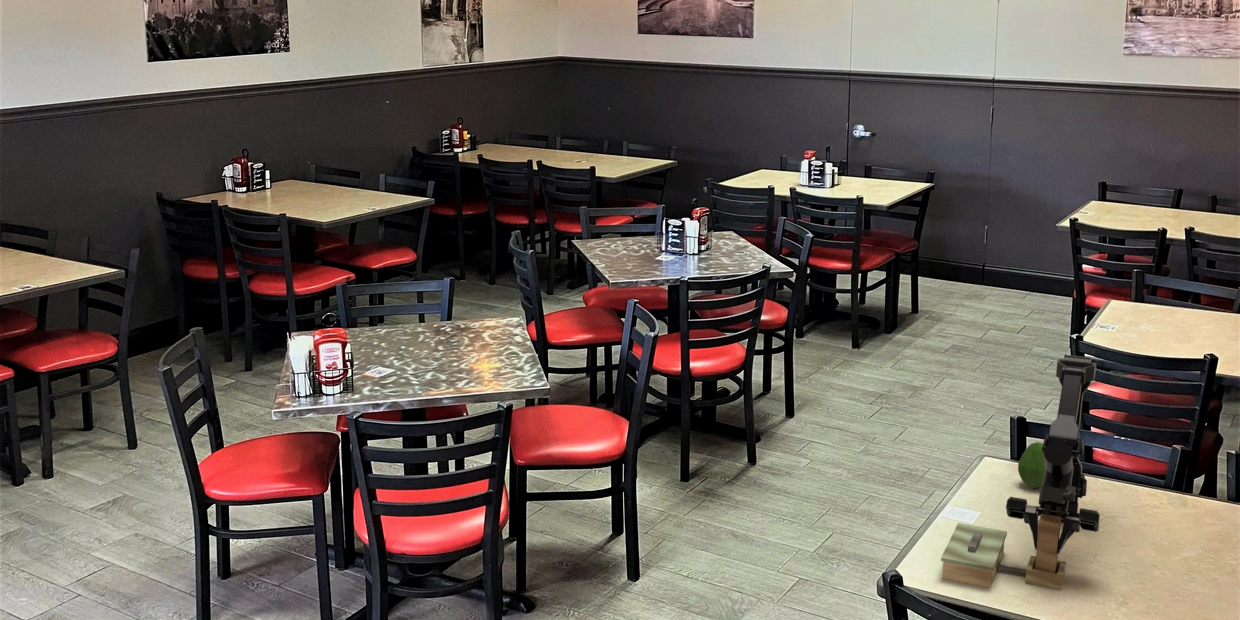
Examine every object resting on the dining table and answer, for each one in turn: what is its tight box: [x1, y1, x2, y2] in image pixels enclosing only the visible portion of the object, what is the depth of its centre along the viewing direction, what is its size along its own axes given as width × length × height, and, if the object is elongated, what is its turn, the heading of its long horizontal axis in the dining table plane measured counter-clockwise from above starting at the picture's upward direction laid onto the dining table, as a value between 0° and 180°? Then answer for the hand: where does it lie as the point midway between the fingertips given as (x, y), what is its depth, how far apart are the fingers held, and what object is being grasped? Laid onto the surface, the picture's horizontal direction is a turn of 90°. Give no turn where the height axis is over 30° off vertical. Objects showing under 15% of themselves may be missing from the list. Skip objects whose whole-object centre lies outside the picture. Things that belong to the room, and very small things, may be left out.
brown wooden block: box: [1035, 514, 1062, 573], centre depth 244 cm, size 4×4×14 cm
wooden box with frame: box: [940, 522, 1067, 590], centre depth 248 cm, size 19×24×6 cm
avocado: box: [1017, 441, 1046, 489], centre depth 290 cm, size 8×8×12 cm
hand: (1046, 551), depth 242 cm, fingers open, 4 cm apart
